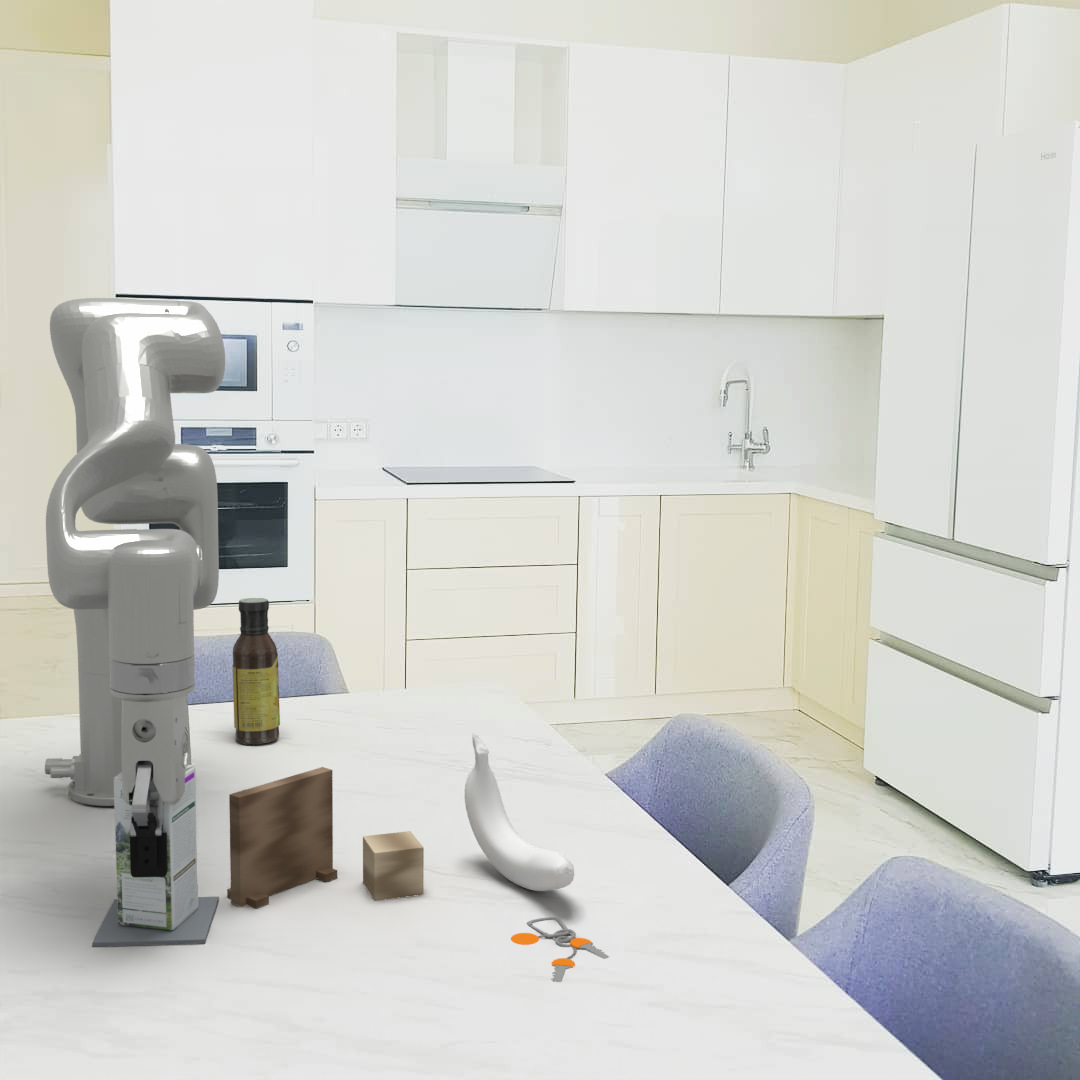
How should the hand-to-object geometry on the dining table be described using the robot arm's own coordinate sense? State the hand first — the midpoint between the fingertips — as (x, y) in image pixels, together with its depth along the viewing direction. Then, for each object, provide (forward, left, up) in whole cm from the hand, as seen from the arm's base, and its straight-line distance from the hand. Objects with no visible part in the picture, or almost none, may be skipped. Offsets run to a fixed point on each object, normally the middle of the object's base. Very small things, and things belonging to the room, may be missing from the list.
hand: (156, 858), depth 127 cm
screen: (+11, +8, -6) cm, 15 cm away
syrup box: (0, 0, -6) cm, 6 cm away
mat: (0, 0, -6) cm, 6 cm away
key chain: (+37, -8, -7) cm, 39 cm away
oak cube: (+22, +7, -6) cm, 24 cm away
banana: (+35, +7, -6) cm, 36 cm away
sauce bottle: (+3, +62, -6) cm, 62 cm away
